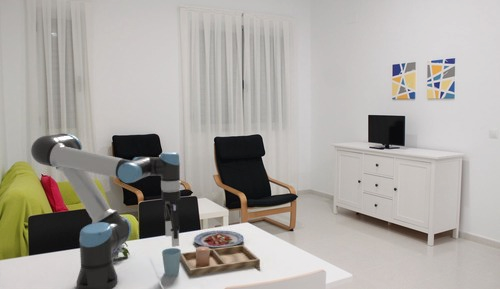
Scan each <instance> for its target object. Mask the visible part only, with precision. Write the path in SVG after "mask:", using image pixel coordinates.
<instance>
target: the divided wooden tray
mask: <svg viewBox="0 0 500 289" xmlns="http://www.w3.org/2000/svg"><path fill="white" fill-rule="evenodd" d="M180 262H181V263H182V265H183V266H184V268H185V270H186V271H187V274H188V275H189V276H190V277H193V276H200V275H205V274H212V273H219V272H220V273H221V272H225V271H233V270H238V269H245V268H250V267H253V268H254V269H258V268H259V269H260V268H261V259H259V257H258V256H257V255H255V254H254V253H253V252H252V251H251V250H250V249H249V248H247V247H246V246H245V245H244V244H241V245H234V246H229V247H216V248H212V249H211V248H210V265H209V266H206V267H198V266H196V250H194V251H189V252H181V256H180Z"/></svg>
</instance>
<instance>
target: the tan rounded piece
mask: <svg viewBox="0 0 500 289" xmlns="http://www.w3.org/2000/svg"><path fill="white" fill-rule="evenodd" d="M210 249H211V247H206V246H202V245H201V246H199V247H198V246H197V247H196V248H195V251H196V266H198V267H206V266H209V265H210Z"/></svg>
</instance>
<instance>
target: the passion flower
mask: <svg viewBox="0 0 500 289" xmlns="http://www.w3.org/2000/svg"><path fill="white" fill-rule="evenodd" d="M124 244H125V245H126V247H128V246H129V245H128V244H127V242H125V243H124ZM124 244H122V245H120V246H119V247H117V248H116V249H114V250H113V251H112V258H114V259H116V260H117V259H118V258H119V254H120V253H121V254H123V257H125V258H126V259H128V257H129V256H130V252H129V250H128V248H126V247H125V245H124Z"/></svg>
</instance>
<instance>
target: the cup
mask: <svg viewBox="0 0 500 289" xmlns="http://www.w3.org/2000/svg"><path fill="white" fill-rule="evenodd" d="M181 253H182V250H181V249H179V248H176V247H172V248H171V247H170V248H165V249H163V250H162V251H161V255H162V262H163V263H162V264H163V269H164V275H165V276H167V277H175V276H178V275H179V274H180V265H181V264H180V262H181V260H180V256H181Z"/></svg>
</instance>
